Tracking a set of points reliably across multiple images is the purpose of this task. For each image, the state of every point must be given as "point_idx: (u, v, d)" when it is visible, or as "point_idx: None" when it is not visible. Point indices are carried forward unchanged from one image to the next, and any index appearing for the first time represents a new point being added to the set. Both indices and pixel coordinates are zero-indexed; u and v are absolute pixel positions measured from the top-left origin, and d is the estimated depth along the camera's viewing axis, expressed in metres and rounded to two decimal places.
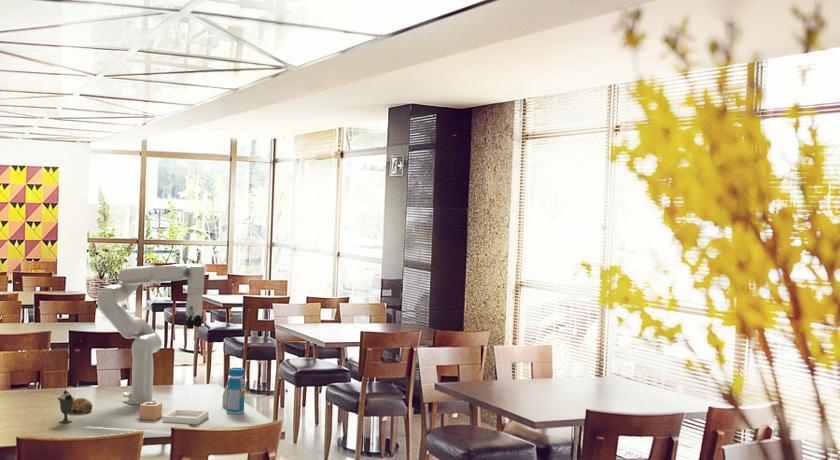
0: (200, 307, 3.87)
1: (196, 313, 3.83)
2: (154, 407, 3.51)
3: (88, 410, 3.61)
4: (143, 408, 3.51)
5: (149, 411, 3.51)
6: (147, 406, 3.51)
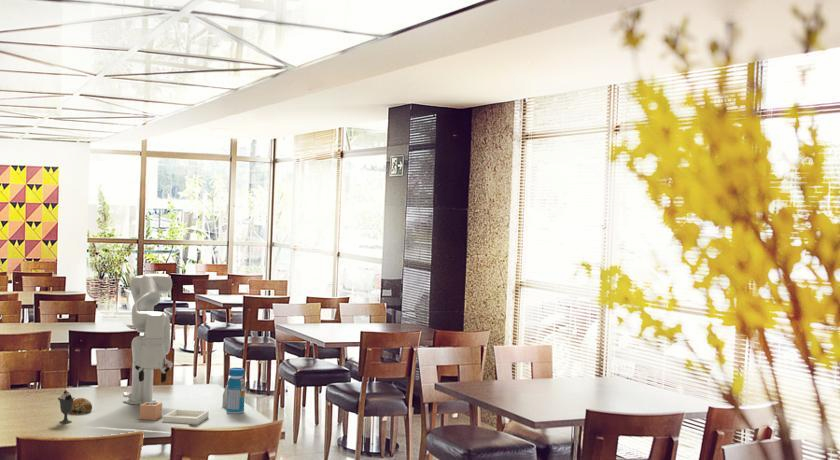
0: None
1: None
2: (154, 407, 3.51)
3: (88, 410, 3.61)
4: (143, 408, 3.51)
5: (149, 411, 3.51)
6: (147, 406, 3.51)
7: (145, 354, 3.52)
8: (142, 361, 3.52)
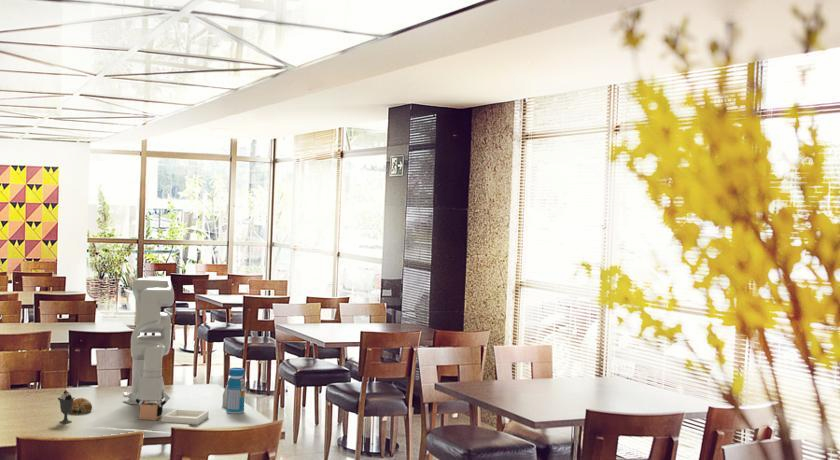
0: None
1: None
2: (154, 407, 3.51)
3: (88, 410, 3.61)
4: (143, 408, 3.51)
5: (149, 411, 3.51)
6: (147, 406, 3.51)
7: (143, 386, 3.52)
8: (140, 393, 3.52)
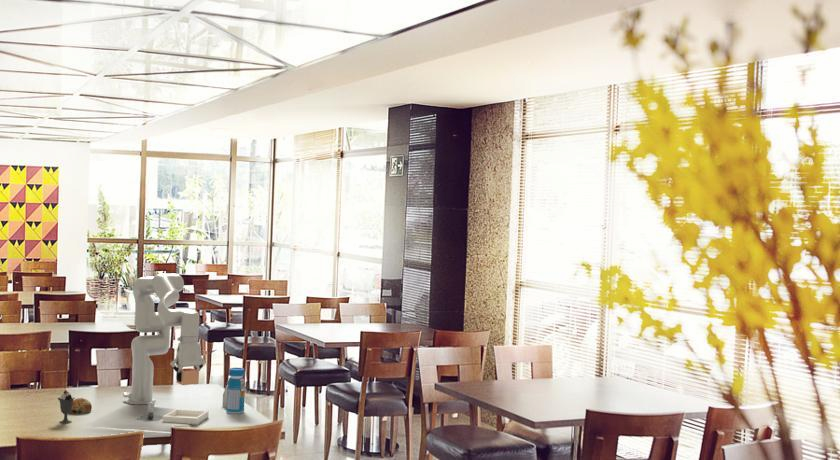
0: None
1: None
2: (197, 371, 3.54)
3: (88, 410, 3.61)
4: (187, 374, 3.51)
5: (193, 376, 3.53)
6: (191, 371, 3.52)
7: (186, 352, 3.52)
8: (183, 359, 3.51)
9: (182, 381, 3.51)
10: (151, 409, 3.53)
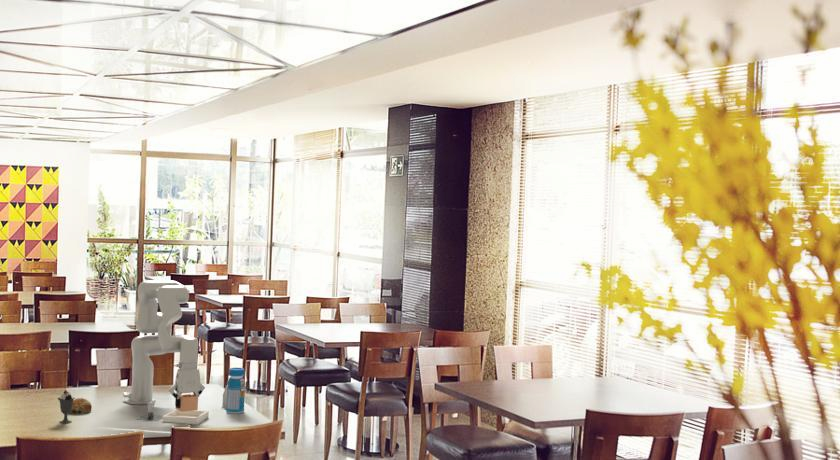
0: None
1: None
2: (196, 397, 3.54)
3: (87, 410, 3.61)
4: (186, 400, 3.51)
5: (192, 402, 3.53)
6: (190, 398, 3.52)
7: (185, 379, 3.52)
8: (182, 386, 3.51)
9: (181, 408, 3.51)
10: (151, 409, 3.53)
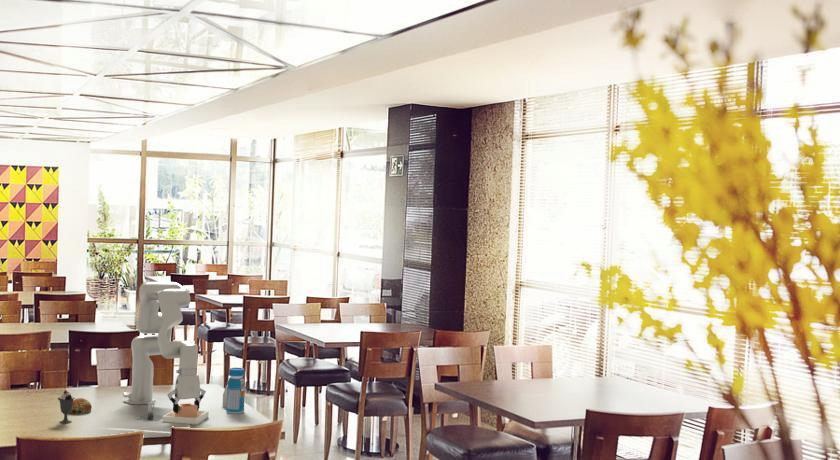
0: None
1: None
2: (196, 407, 3.54)
3: (87, 410, 3.61)
4: (185, 410, 3.51)
5: (191, 412, 3.53)
6: (189, 407, 3.52)
7: (184, 385, 3.52)
8: (181, 392, 3.51)
9: None
10: (151, 409, 3.53)
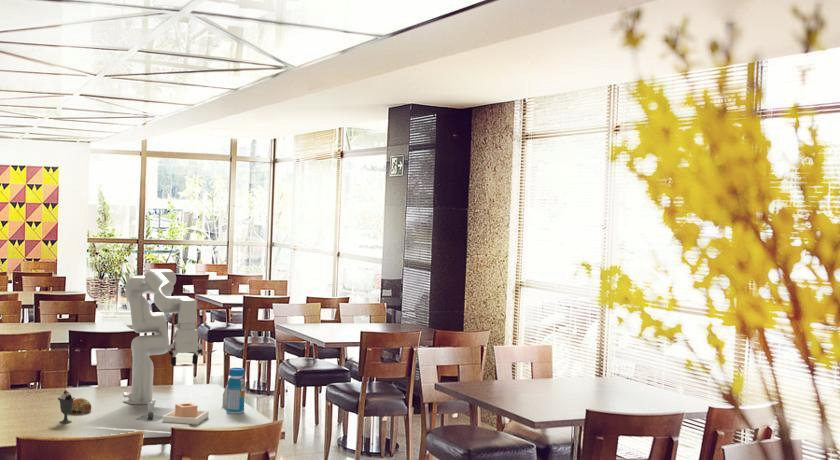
0: None
1: None
2: (196, 407, 3.54)
3: (87, 410, 3.61)
4: (185, 410, 3.51)
5: (191, 412, 3.53)
6: (189, 407, 3.52)
7: (183, 339, 3.58)
8: (180, 346, 3.58)
9: None
10: (151, 409, 3.53)
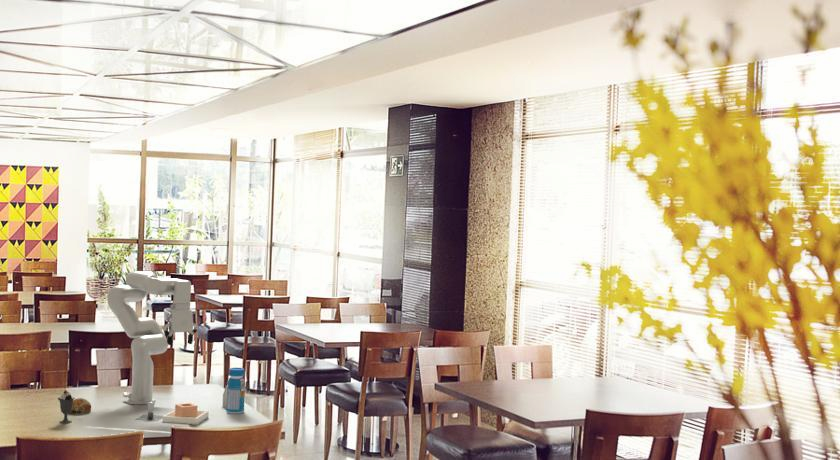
0: None
1: None
2: (196, 407, 3.54)
3: (87, 410, 3.61)
4: (185, 410, 3.51)
5: (191, 412, 3.53)
6: (189, 407, 3.52)
7: (178, 318, 3.71)
8: (175, 325, 3.70)
9: None
10: (151, 409, 3.53)
